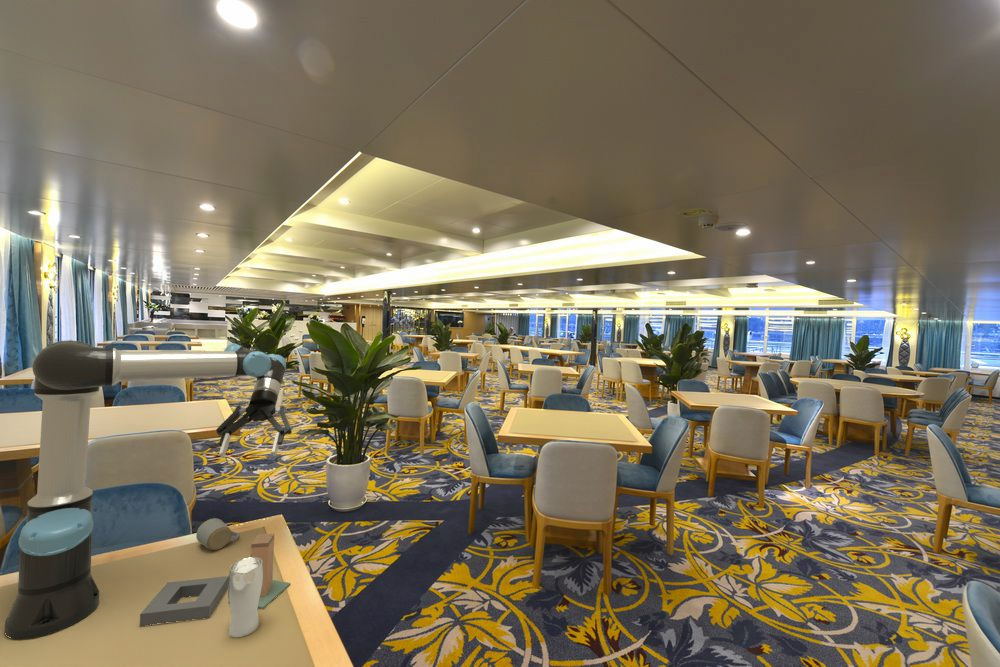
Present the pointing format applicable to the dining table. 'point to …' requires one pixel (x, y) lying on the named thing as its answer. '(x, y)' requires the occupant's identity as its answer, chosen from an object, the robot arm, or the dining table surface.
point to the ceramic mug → (215, 534)
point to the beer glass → (244, 595)
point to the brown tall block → (264, 558)
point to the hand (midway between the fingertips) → (248, 454)
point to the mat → (272, 593)
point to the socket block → (171, 611)
